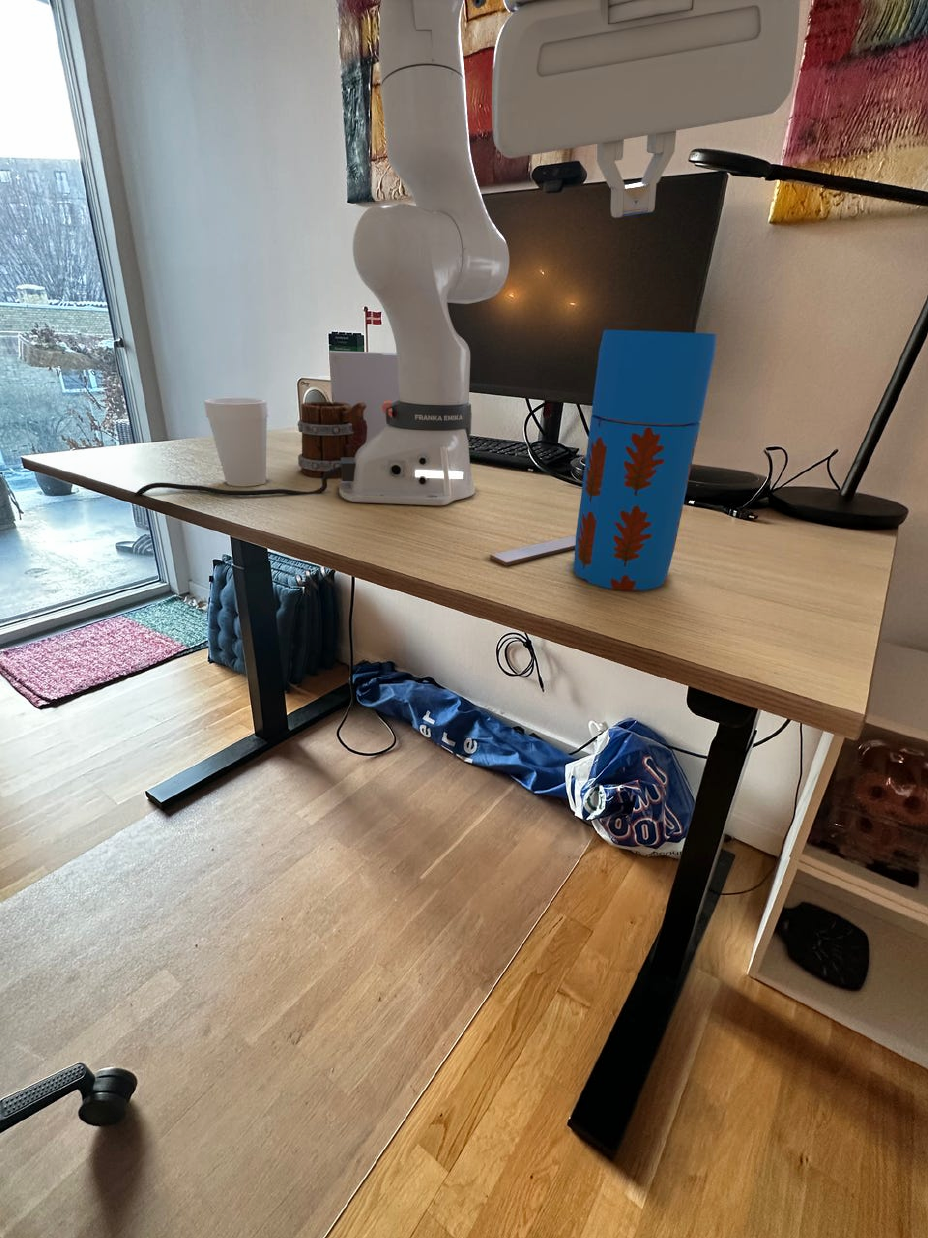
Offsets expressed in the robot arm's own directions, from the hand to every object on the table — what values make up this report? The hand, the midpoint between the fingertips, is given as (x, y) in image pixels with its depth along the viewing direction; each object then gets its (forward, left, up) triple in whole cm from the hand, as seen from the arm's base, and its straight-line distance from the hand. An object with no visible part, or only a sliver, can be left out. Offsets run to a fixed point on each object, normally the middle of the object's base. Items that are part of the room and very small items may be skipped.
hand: (631, 213), depth 45 cm
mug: (-25, +60, -33) cm, 73 cm away
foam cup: (-40, +53, -33) cm, 74 cm away
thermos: (+8, +8, -33) cm, 35 cm away
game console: (-12, +75, -33) cm, 82 cm away
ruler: (+8, +19, -33) cm, 39 cm away
